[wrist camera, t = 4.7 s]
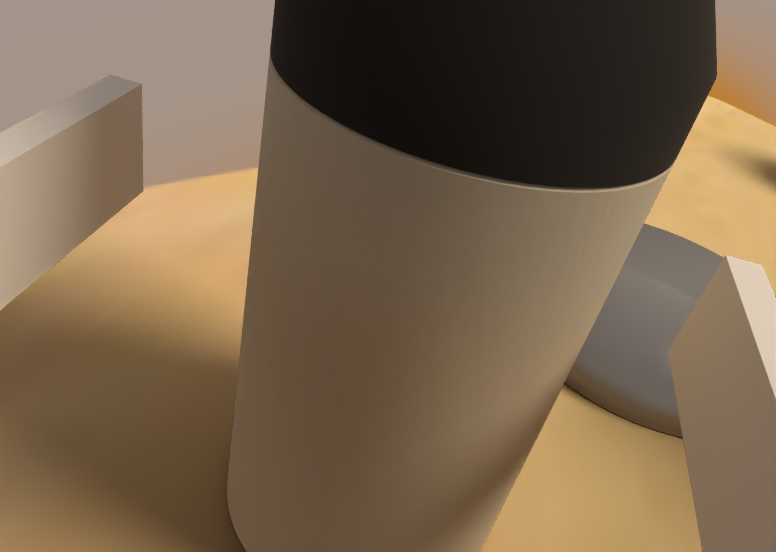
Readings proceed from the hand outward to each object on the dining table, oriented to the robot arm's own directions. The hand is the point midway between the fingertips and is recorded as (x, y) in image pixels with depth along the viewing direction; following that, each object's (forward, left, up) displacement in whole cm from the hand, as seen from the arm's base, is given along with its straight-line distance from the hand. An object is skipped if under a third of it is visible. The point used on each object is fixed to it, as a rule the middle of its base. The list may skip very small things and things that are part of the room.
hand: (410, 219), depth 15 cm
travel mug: (-1, 0, -10) cm, 10 cm away
